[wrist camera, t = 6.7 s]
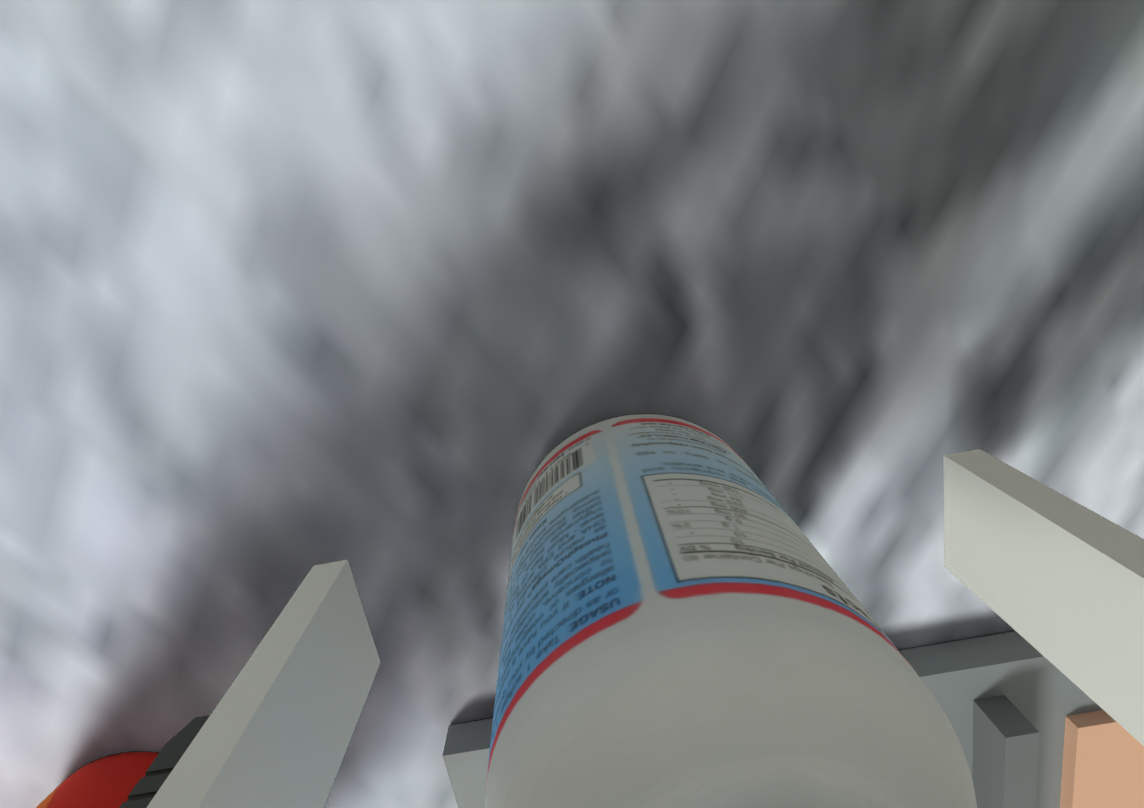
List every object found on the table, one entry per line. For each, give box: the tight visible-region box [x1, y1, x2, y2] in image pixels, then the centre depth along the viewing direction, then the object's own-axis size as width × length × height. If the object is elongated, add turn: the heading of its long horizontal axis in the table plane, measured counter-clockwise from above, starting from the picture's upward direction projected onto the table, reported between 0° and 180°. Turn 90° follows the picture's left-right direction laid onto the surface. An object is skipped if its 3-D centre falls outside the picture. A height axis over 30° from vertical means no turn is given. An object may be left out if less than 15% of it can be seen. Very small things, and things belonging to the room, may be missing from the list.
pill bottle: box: [485, 414, 977, 808], centre depth 10 cm, size 6×6×11 cm
